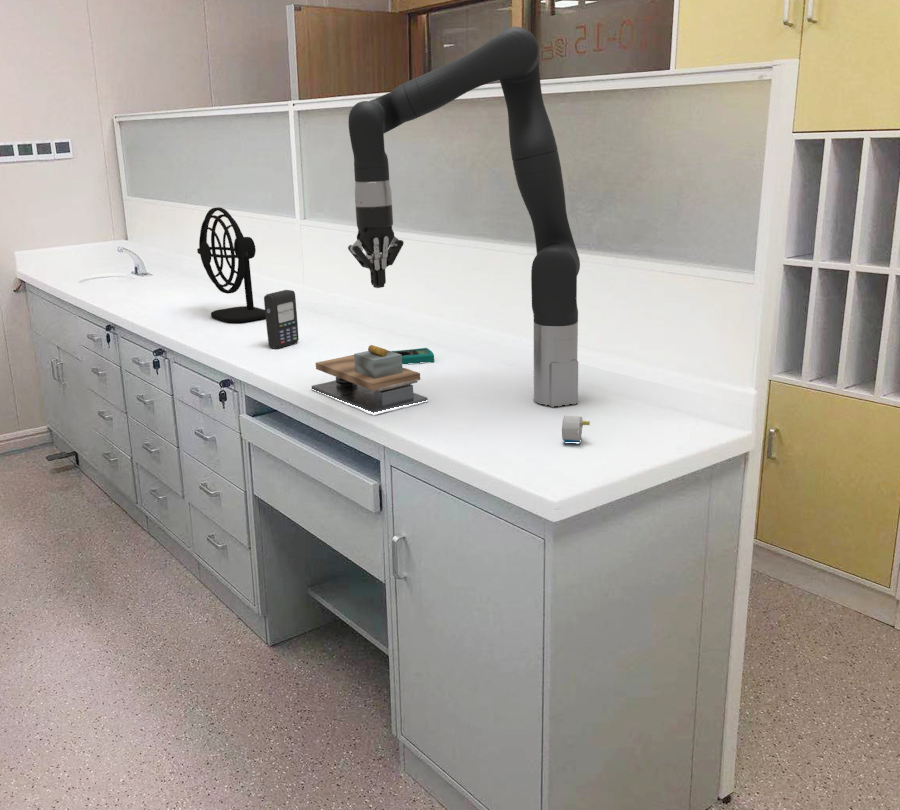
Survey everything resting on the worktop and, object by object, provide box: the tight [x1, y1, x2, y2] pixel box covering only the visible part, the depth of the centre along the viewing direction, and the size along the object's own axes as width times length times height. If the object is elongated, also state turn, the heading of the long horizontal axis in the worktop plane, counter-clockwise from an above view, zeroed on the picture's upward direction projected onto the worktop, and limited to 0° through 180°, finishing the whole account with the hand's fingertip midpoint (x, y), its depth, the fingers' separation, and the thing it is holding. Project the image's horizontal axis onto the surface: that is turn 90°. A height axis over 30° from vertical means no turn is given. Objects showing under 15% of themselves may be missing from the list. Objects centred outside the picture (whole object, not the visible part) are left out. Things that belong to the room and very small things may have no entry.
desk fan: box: [196, 206, 266, 323], centre depth 281 cm, size 27×18×35 cm, turn 40°
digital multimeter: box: [390, 347, 435, 365], centre depth 227 cm, size 7×15×3 cm, turn 103°
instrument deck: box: [315, 344, 421, 392], centre depth 196 cm, size 24×12×8 cm, turn 38°
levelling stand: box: [310, 376, 428, 413], centre depth 198 cm, size 26×14×5 cm, turn 38°
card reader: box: [263, 289, 299, 349], centre depth 245 cm, size 9×4×15 cm, turn 146°
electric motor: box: [561, 415, 591, 443], centre depth 165 cm, size 7×5×5 cm
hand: (378, 287), depth 188 cm, fingers closed
